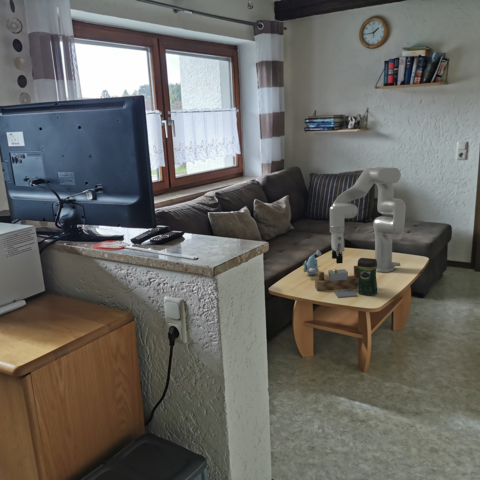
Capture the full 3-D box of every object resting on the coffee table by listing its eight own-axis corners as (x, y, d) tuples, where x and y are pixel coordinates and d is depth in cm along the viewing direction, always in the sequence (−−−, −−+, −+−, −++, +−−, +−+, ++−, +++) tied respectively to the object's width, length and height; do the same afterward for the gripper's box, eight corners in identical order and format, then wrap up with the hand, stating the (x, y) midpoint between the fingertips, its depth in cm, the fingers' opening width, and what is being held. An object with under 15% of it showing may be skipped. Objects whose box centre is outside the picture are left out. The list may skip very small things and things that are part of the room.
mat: (352, 290, 256) (352, 289, 255) (357, 296, 247) (357, 295, 247) (333, 291, 255) (333, 290, 255) (337, 297, 247) (337, 296, 246)
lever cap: (345, 276, 264) (344, 267, 263) (347, 279, 258) (347, 270, 257) (328, 277, 263) (328, 268, 262) (331, 280, 258) (330, 271, 256)
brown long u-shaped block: (362, 283, 265) (362, 264, 263) (365, 287, 259) (365, 267, 257) (315, 287, 264) (314, 267, 262) (317, 290, 258) (316, 271, 256)
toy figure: (321, 279, 277) (320, 253, 273) (302, 279, 279) (301, 254, 276) (322, 270, 293) (321, 246, 289) (304, 270, 295) (303, 246, 291)
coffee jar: (379, 292, 251) (379, 257, 247) (374, 296, 245) (374, 261, 240) (360, 289, 256) (360, 255, 252) (355, 294, 250) (355, 259, 246)
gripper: (348, 232, 246) (348, 264, 250) (340, 225, 263) (340, 256, 267) (333, 232, 246) (334, 265, 249) (326, 226, 263) (326, 257, 266)
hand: (337, 260), depth 258 cm, fingers open, 9 cm apart
